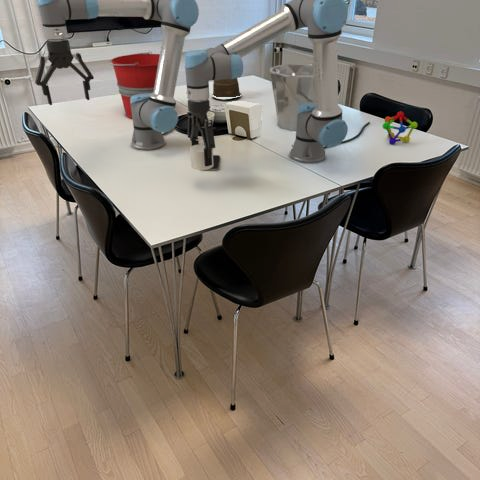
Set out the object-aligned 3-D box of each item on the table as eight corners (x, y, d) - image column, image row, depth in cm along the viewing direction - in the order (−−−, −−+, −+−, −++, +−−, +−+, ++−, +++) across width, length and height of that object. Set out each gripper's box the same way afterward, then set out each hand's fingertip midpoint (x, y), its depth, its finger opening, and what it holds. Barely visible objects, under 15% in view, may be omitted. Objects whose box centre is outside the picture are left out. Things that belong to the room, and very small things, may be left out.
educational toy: (377, 146, 209) (379, 114, 202) (384, 138, 219) (386, 107, 211) (411, 149, 202) (415, 116, 195) (417, 141, 212) (420, 109, 204)
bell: (227, 105, 294) (202, 96, 282) (238, 66, 289) (213, 55, 277) (243, 108, 280) (217, 98, 268) (255, 66, 275) (229, 55, 263)
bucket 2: (296, 138, 215) (301, 78, 201) (255, 124, 234) (256, 68, 219) (335, 125, 232) (342, 70, 217) (294, 113, 251) (297, 61, 236)
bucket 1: (125, 104, 265) (117, 50, 249) (183, 105, 264) (179, 51, 248) (108, 122, 236) (99, 62, 220) (174, 123, 235) (169, 63, 219)
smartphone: (200, 168, 181) (203, 155, 194) (200, 170, 182) (203, 156, 194) (218, 168, 181) (220, 155, 194) (218, 170, 182) (220, 156, 194)
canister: (209, 170, 160) (208, 152, 157) (188, 169, 162) (186, 150, 158) (216, 162, 167) (215, 144, 163) (195, 160, 169) (194, 143, 165)
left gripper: (20, 43, 145) (36, 108, 156) (96, 38, 156) (105, 99, 168) (16, 40, 150) (31, 104, 162) (90, 35, 162) (99, 95, 173)
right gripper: (174, 94, 157) (179, 155, 169) (204, 108, 143) (208, 173, 155) (192, 91, 161) (196, 151, 173) (224, 104, 146) (226, 168, 158)
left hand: (69, 101), depth 165 cm, fingers open, 13 cm apart
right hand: (202, 161), depth 164 cm, fingers closed on canister, 8 cm apart
